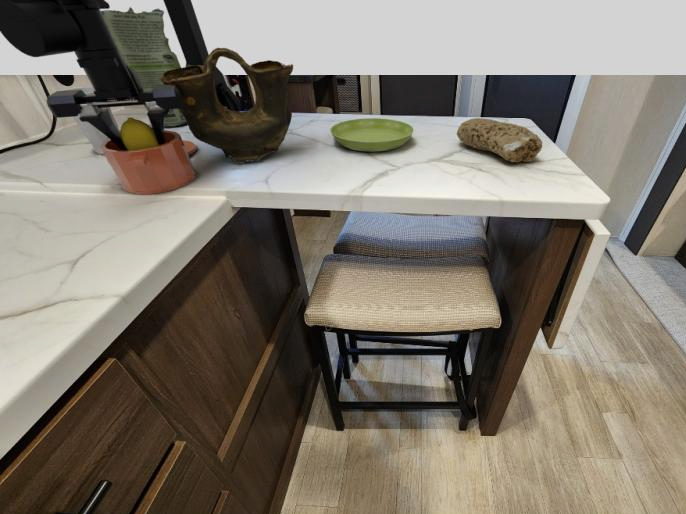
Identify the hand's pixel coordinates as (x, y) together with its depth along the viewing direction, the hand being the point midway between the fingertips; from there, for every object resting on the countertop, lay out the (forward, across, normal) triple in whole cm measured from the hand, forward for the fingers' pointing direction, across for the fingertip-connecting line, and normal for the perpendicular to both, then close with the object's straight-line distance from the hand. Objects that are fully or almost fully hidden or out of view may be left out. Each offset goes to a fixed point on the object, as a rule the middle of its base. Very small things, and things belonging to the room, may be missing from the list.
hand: (147, 152), depth 62 cm
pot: (+5, 0, 0) cm, 5 cm away
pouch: (+6, +1, -44) cm, 44 cm away
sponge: (+6, -72, +9) cm, 73 cm away
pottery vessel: (+6, -18, -8) cm, 20 cm away
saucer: (+6, -47, -8) cm, 48 cm away
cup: (+6, +13, -24) cm, 28 cm away
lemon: (+2, 0, 0) cm, 2 cm away
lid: (+5, +1, -16) cm, 17 cm away
